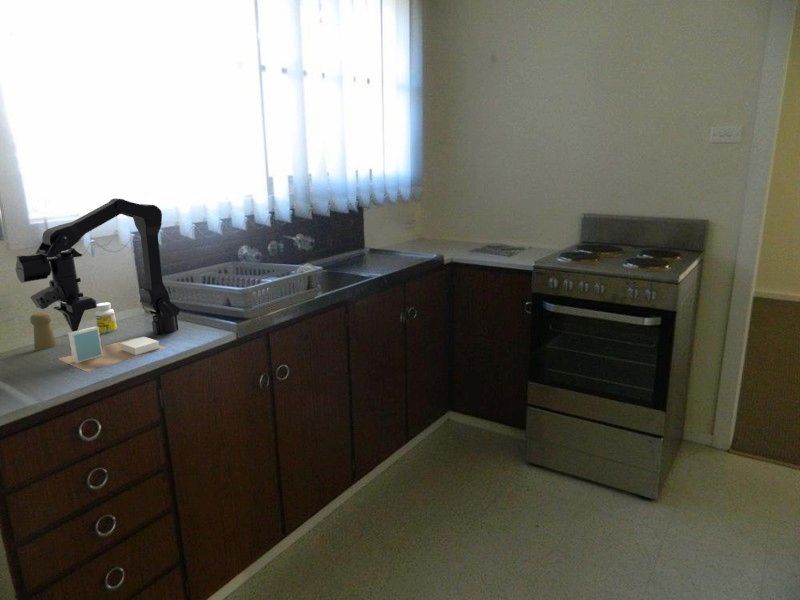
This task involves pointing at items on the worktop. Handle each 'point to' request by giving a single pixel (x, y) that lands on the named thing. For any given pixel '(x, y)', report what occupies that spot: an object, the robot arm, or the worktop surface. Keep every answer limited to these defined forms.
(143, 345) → the tile
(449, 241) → the worktop surface
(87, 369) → the board
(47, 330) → the cork
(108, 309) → the supplement bottle
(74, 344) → the tile
